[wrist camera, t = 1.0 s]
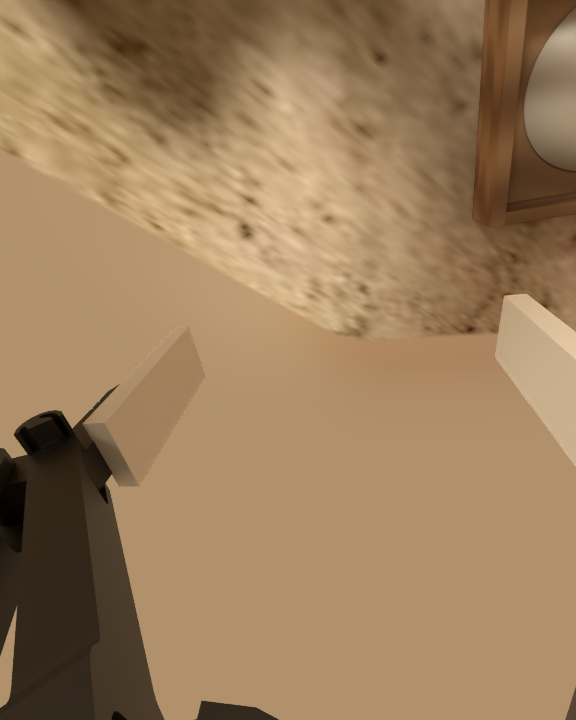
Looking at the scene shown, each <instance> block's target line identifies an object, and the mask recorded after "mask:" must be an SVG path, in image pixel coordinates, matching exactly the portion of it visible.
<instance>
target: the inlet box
mask: <svg viewBox="0 0 576 720" xmlns="http://www.w3.org/2000/svg"><path fill="white" fill-rule="evenodd" d="M572 214H576V0H486V2H485V18H484V35H483V51H482V68H481V85H480V101H479V118H478V134H477V151H476V167H475V184H474V201H473V217H472V218H473V219H475V220H477V221H479V222H481V223H483V224H485V225H487V226H489V227H491V228H492V227H498V226H504V225H511V224H517V223H523V222H529V221H535V220H541V219H547V218H554V217H560V216H566V215H572Z"/></svg>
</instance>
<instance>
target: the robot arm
mask: <svg viewBox="0 0 576 720" xmlns="http://www.w3.org/2000/svg"><path fill="white" fill-rule="evenodd" d="M495 359H496V360H497V361H498V363H499V364H500V365H501V367H502V368H503V370H504V371H505V372H506V374H507V375H508V376H509V377H510V379H511V380H512V382H513V383H514V384H515V386H516V387H517V388H518V390H519V391H520V392H521V394H522V395H523V396H524V398H525V399H526V401H527V402H528V403H529V405H530V406H531V407H532V409H533V410H534V411H535V412H536V414H537V415H538V417H539V418H540V419H541V421H542V422H543V423H544V425H545V426H546V427H547V429H548V430H549V431H550V433H551V434H552V436H553V437H554V438H555V440H556V441H557V442H558V444H559V445H560V446H561V448H562V449H563V450H564V452H565V453H566V454H567V456H568V457H569V458H570V460H571V461H572V462H573V464H574V465H575V466H576V332H575V331H574V330H573V329H571V328H570V327H569V326H567V325H566V324H565V323H564V322H562V321H561V320H560V319H558V318H557V317H556V316H555V315H553V314H552V313H551V312H549V311H548V310H547V309H545V308H544V307H543V306H542V305H540V304H539V303H538V302H536V301H535V300H534V299H533V298H531V297H530V296H529V295H527V294H517V295H506V296H504V299H503V306H502V312H501V319H500V325H499V332H498V338H497V345H496V352H495ZM204 378H205V374H204V371H203V368H202V365H201V362H200V359H199V356H198V353H197V350H196V347H195V344H194V341H193V338H192V335H191V332H190V329H189V327H188V326H186V327H177V328H176V327H175V328H173V329H172V330H171V331H170V332H169V333H168V334H167V335H166V336H165V337H164V338H163V339H162V340H161V341H160V343H158V344H157V345H156V347H155V348H154V349H153V350H152V351H151V352H150V353H149V354H148V355H147V356H146V357H145V358H144V359H143V360H142V361H141V363H139V365H138V366H137V367H136V368H135V369H134V370H133V371H132V372H131V373H130V374H129V375H128V376H127V377H126V378H125V379H124V380H123V382H122V383H121V384H119V385H117V386H116V387H114V388H113V389H111V390H110V391H108V392H107V393H106V394H105V395H104V396H103V397H102V399H101V400H100V402H98V403H97V404H96V405H95V406H94V407H93V409H91V410H90V411H89V412H88V413H87V414H86V415H85V416H84V417H83V418H82V419H81V420H80V421H79V422H78V423H77V424H76V425H75V426H74V428H73V429H72V428H71V426H70V425H69V423H68V421H67V420H66V418H65V417H64V415H63V413H62V412H61V411H57V410H54V411H48V412H44V413H41V414H39V415H37V416H35V417H32V418H30V419H29V420H27V421H26V422H24V423H23V424H22V425H21V426H20V427H18V429H16V431H15V434H14V436H15V437H16V439H17V440H18V441H19V443H20V444H21V446H22V447H23V448H24V450H25V451H26V452H27V454H28V455H24V456H21V457H16V458H13V459H12V458H11V457H10V455H9V454H8V453H7V452H6V450H5V449H3V448H0V655H1V652H2V649H3V646H4V643H5V640H6V637H7V634H8V631H9V627H10V625H11V622H12V619H13V616H14V612H15V609H16V607H17V619H16V631H15V645H14V658H13V672H12V686H11V693H10V698H9V701H8V702H7V704H6V705H4V706H3V707H1V708H0V720H164V718H163V715H162V713H161V711H160V709H159V707H158V704H157V701H156V698H155V695H154V691H153V687H152V682H151V677H150V673H149V668H148V664H147V659H146V654H145V650H144V645H143V641H142V636H141V631H140V627H139V622H138V618H137V613H136V608H135V604H134V600H133V595H132V590H131V586H130V581H129V577H128V572H127V567H126V563H125V558H124V554H123V549H122V544H121V540H120V535H119V531H118V527H117V522H116V517H115V513H114V508H113V503H112V499H111V494H110V490H109V489H108V487H107V485H106V484H105V483H106V481H107V480H108V479H109V477H110V476H111V474H112V475H113V477H114V479H115V480H116V482H117V483H118V485H119V486H140V484H141V483H142V481H143V479H144V478H145V476H146V474H147V473H148V471H149V469H150V468H151V466H152V464H153V463H154V461H155V459H156V458H157V456H158V454H159V453H160V451H161V449H162V448H163V446H164V444H165V443H166V441H167V439H168V438H169V436H170V434H171V433H172V431H173V429H174V428H175V426H176V424H177V423H178V421H179V419H180V417H181V416H182V414H183V413H184V411H185V409H186V408H187V406H188V404H189V403H190V401H191V399H192V398H193V396H194V394H195V392H196V391H197V389H198V388H199V386H200V384H201V383H202V381H203V379H204ZM195 720H278V719H277V718H275V717H273V716H271V715H269V714H267V713H265V712H263V711H262V710H260V709H258V708H256V707H247V706H240V705H232V704H224V703H216V702H208V701H202V702H201V705H200V709H199V713H198V718H197V719H195ZM566 720H576V688H575V692H574V695H573V697H572V701H571V704H570V707H569V710H568V713H567V716H566Z"/></svg>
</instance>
